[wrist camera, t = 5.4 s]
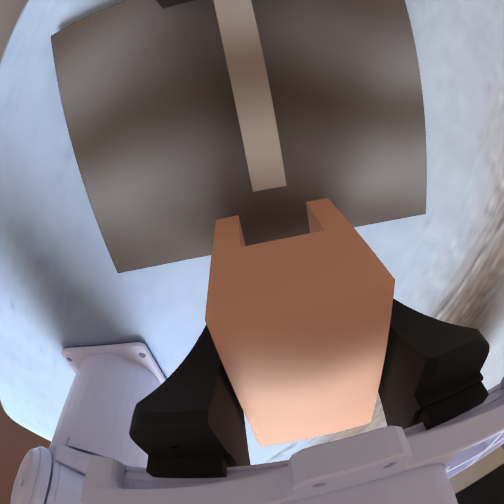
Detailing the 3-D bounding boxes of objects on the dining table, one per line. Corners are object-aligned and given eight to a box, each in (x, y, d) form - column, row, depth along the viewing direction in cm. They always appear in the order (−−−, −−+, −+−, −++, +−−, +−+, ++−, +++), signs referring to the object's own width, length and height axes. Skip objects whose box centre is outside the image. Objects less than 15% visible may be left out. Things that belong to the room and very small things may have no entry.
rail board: (417, 207, 16) (465, 244, 12) (122, 264, 17) (94, 318, 12) (389, -20, 10) (438, -46, 5) (60, 38, 10) (4, 26, 6)
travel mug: (448, 402, 29) (496, 508, 13) (397, 421, 29) (439, 541, 13) (470, 364, 26) (536, 483, 10) (416, 384, 26) (477, 528, 10)
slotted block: (335, 329, 17) (370, 422, 11) (251, 346, 17) (260, 446, 11) (327, 197, 13) (395, 279, 7) (215, 220, 13) (205, 320, 7)
